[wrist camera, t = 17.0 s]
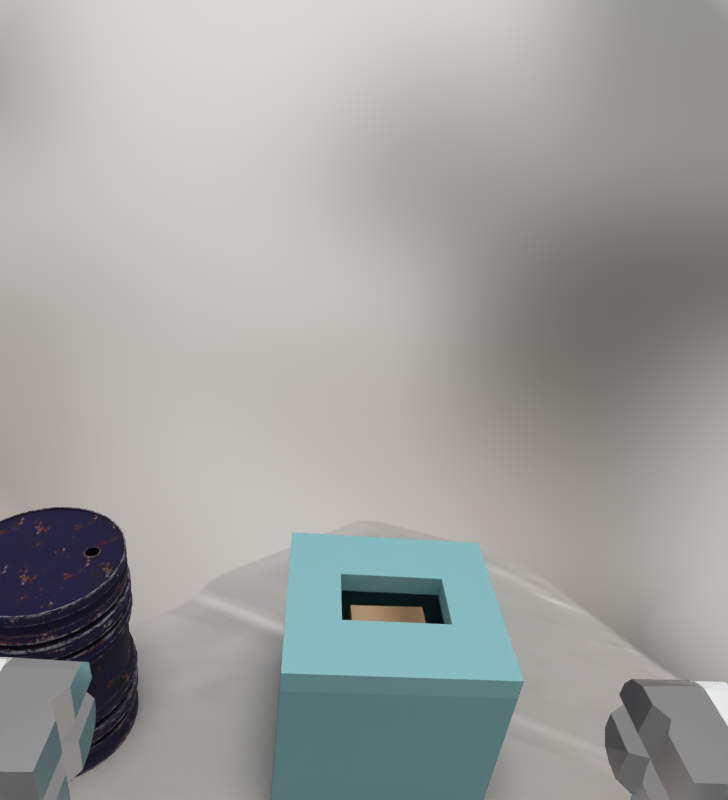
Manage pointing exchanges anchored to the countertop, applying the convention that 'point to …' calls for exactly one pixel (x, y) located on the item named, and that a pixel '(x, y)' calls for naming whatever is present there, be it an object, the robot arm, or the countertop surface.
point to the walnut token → (387, 614)
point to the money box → (391, 673)
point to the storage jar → (73, 608)
